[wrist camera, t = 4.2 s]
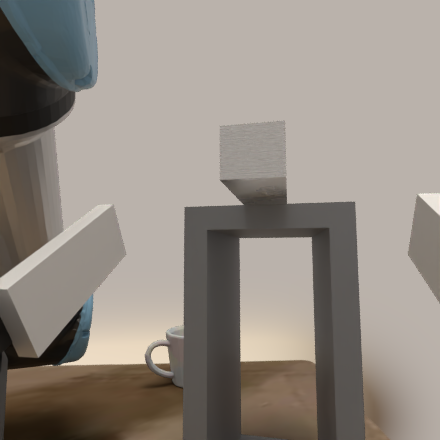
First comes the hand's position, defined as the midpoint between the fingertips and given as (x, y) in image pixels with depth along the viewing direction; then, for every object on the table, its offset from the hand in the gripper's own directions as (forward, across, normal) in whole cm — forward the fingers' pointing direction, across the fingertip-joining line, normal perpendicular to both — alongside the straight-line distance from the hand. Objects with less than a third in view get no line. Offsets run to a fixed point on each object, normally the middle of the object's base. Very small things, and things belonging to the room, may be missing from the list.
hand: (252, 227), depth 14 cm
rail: (+15, 0, -5) cm, 16 cm away
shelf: (+5, 0, -35) cm, 35 cm away
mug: (+29, -20, -49) cm, 60 cm away
